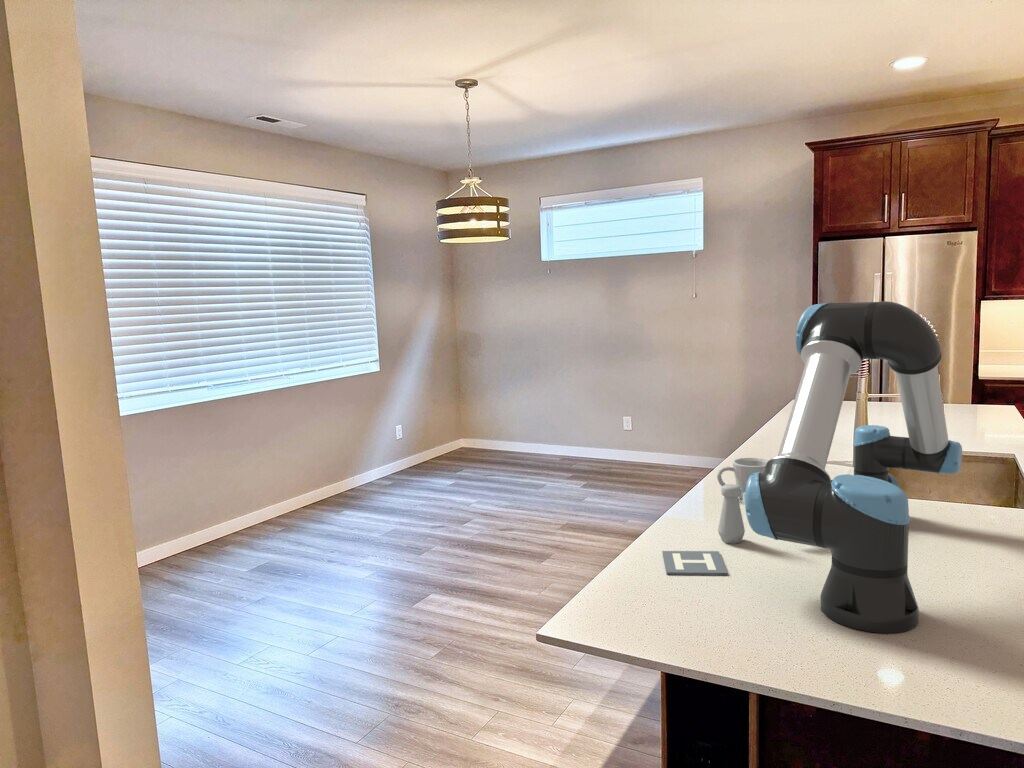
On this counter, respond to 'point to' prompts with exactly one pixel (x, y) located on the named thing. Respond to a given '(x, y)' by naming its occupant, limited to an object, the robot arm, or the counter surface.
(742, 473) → the mug
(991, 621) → the counter surface
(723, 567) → the letter card
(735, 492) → the salt shaker
